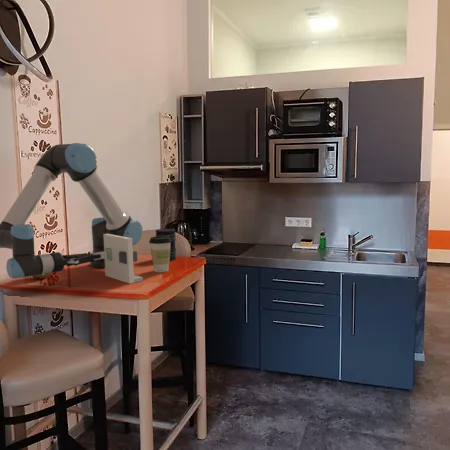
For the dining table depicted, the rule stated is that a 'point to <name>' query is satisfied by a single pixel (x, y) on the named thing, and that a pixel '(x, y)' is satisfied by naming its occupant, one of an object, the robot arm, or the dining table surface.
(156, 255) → the coffee cup
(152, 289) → the dining table surface
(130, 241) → the button panel
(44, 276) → the onion
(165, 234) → the storage jar
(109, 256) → the sage button
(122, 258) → the black button
